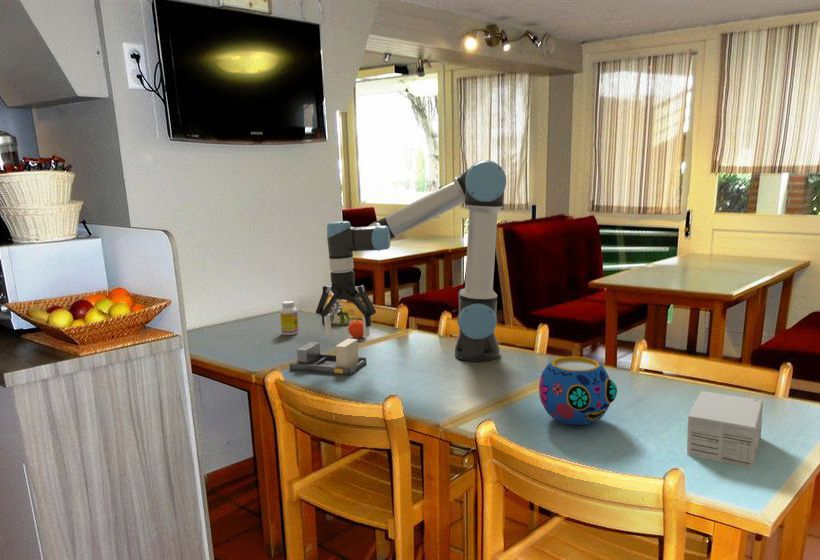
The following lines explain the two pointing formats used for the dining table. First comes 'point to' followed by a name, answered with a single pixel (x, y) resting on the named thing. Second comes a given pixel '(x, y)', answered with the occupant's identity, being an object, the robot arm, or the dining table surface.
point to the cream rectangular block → (347, 353)
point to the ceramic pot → (576, 390)
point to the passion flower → (338, 312)
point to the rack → (321, 361)
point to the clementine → (356, 329)
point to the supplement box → (725, 428)
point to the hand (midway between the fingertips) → (347, 335)
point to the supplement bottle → (289, 318)
